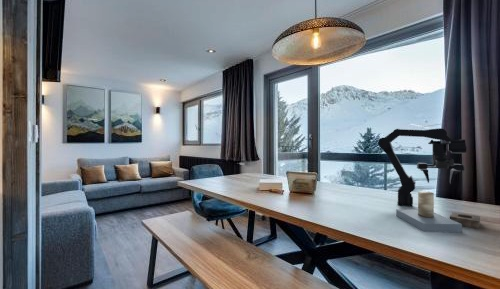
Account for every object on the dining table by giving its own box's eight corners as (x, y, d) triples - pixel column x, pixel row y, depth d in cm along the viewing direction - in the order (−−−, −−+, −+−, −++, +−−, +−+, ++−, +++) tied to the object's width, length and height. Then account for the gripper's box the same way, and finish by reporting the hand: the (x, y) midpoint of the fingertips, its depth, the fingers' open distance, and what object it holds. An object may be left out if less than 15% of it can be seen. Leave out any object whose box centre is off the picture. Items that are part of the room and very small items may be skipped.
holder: (449, 223, 104) (449, 216, 104) (452, 218, 110) (452, 211, 110) (478, 228, 97) (478, 221, 97) (479, 223, 104) (479, 216, 103)
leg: (415, 222, 105) (415, 192, 105) (421, 219, 108) (421, 190, 108) (430, 226, 101) (430, 194, 100) (436, 223, 104) (436, 192, 104)
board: (396, 215, 115) (396, 209, 115) (427, 215, 114) (427, 209, 114) (424, 231, 95) (424, 223, 95) (461, 231, 94) (461, 224, 94)
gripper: (419, 153, 123) (419, 184, 123) (468, 154, 114) (468, 187, 114) (416, 152, 133) (416, 181, 133) (460, 152, 124) (460, 183, 124)
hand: (439, 183), depth 126 cm, fingers open, 9 cm apart
